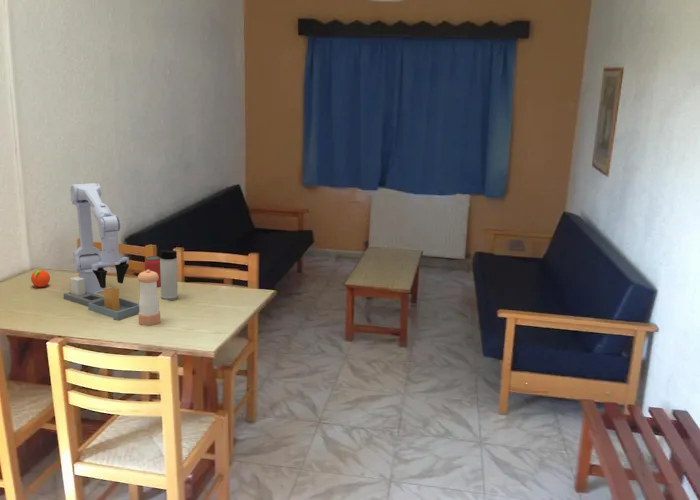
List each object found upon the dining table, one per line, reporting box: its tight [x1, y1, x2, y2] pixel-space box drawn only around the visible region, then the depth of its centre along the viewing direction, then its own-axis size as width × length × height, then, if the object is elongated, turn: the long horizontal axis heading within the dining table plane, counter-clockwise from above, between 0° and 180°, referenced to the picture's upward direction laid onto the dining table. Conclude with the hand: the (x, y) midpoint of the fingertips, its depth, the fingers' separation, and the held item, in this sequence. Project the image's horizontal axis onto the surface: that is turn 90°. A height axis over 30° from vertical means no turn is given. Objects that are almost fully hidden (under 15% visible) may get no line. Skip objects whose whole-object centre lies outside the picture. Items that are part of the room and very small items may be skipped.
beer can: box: [144, 255, 161, 287], centre depth 261 cm, size 7×7×12 cm
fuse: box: [69, 276, 85, 296], centre depth 239 cm, size 3×4×8 cm
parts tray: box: [87, 297, 140, 321], centre depth 229 cm, size 11×16×3 cm
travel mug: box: [159, 249, 179, 301], centre depth 244 cm, size 6×7×20 cm
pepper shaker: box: [137, 270, 161, 326], centre depth 219 cm, size 7×7×19 cm
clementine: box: [30, 269, 51, 288], centre depth 252 cm, size 8×7×7 cm
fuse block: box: [63, 291, 104, 307], centre depth 238 cm, size 7×16×2 cm, turn 58°
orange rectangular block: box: [103, 286, 120, 311], centre depth 229 cm, size 3×4×8 cm
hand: (111, 285), depth 228 cm, fingers open, 7 cm apart
